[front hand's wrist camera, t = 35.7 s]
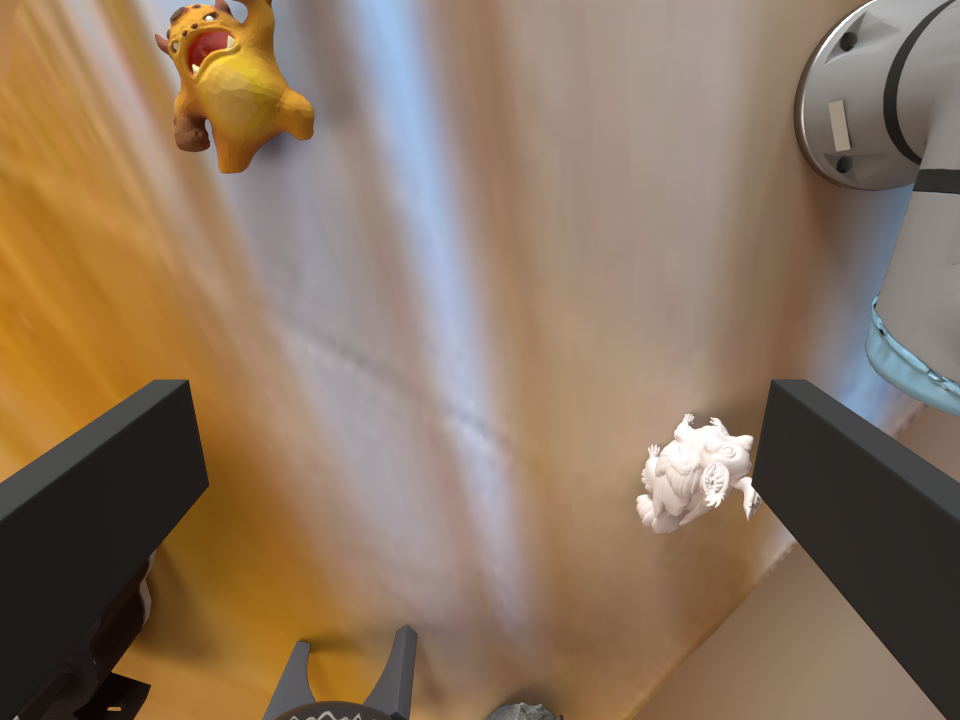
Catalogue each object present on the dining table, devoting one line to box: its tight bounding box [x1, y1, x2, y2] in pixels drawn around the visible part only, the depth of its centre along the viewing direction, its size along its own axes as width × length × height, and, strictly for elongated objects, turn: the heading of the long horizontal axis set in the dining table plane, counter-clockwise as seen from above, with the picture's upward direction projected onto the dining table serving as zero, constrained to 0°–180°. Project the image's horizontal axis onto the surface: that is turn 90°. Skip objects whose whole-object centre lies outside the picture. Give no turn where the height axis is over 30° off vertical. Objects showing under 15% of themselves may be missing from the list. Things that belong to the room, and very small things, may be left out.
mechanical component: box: [14, 548, 157, 720], centre depth 53 cm, size 22×21×30 cm
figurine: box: [636, 413, 762, 534], centre depth 53 cm, size 8×15×13 cm, turn 161°
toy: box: [155, 0, 314, 174], centre depth 44 cm, size 11×6×15 cm
